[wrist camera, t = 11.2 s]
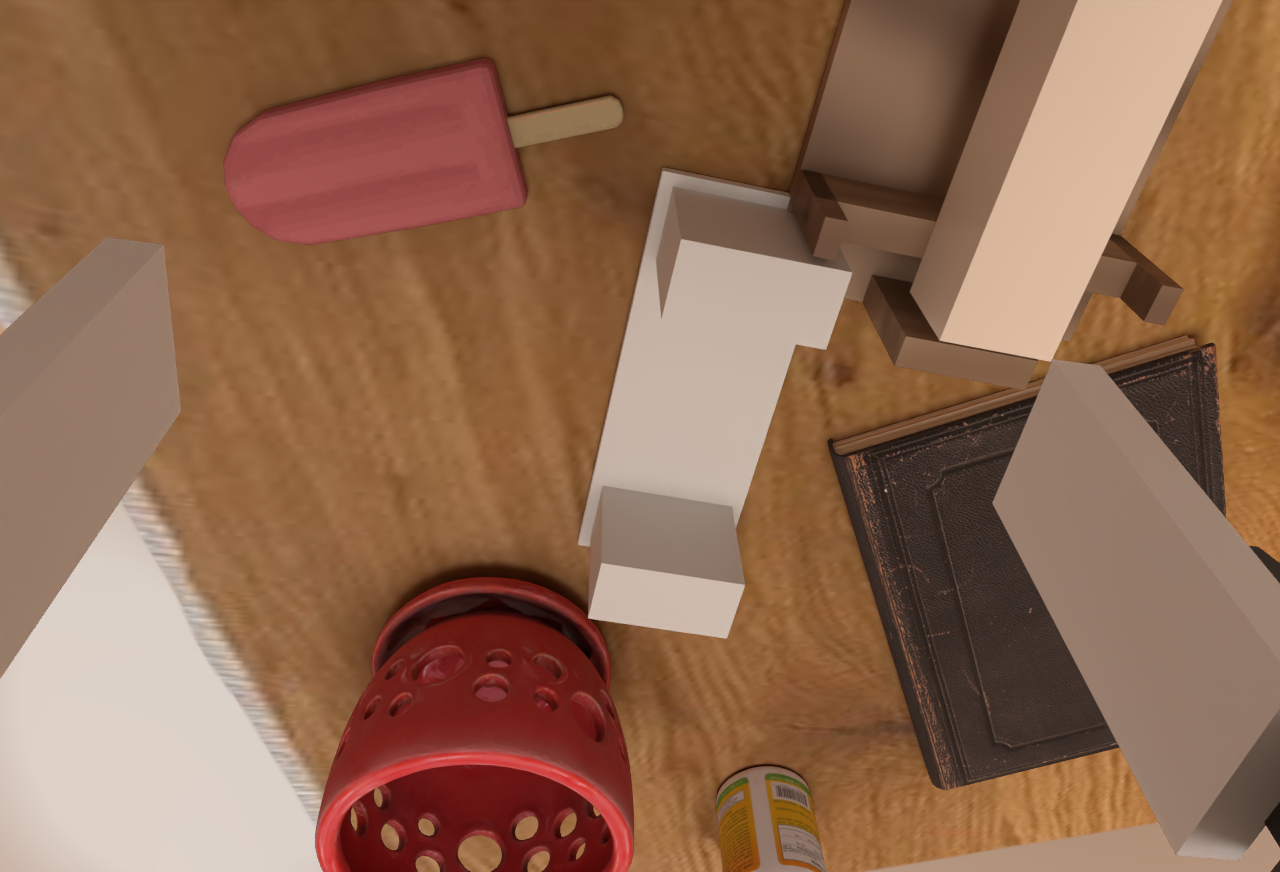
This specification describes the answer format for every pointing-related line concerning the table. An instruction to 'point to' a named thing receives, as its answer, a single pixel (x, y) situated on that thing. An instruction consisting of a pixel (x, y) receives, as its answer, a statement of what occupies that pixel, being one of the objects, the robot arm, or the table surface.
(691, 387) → the stand
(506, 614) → the plant pot
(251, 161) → the popsicle
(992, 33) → the rack
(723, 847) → the supplement bottle
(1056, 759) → the hardcover book
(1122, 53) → the beige rectangular bar
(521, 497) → the table surface
